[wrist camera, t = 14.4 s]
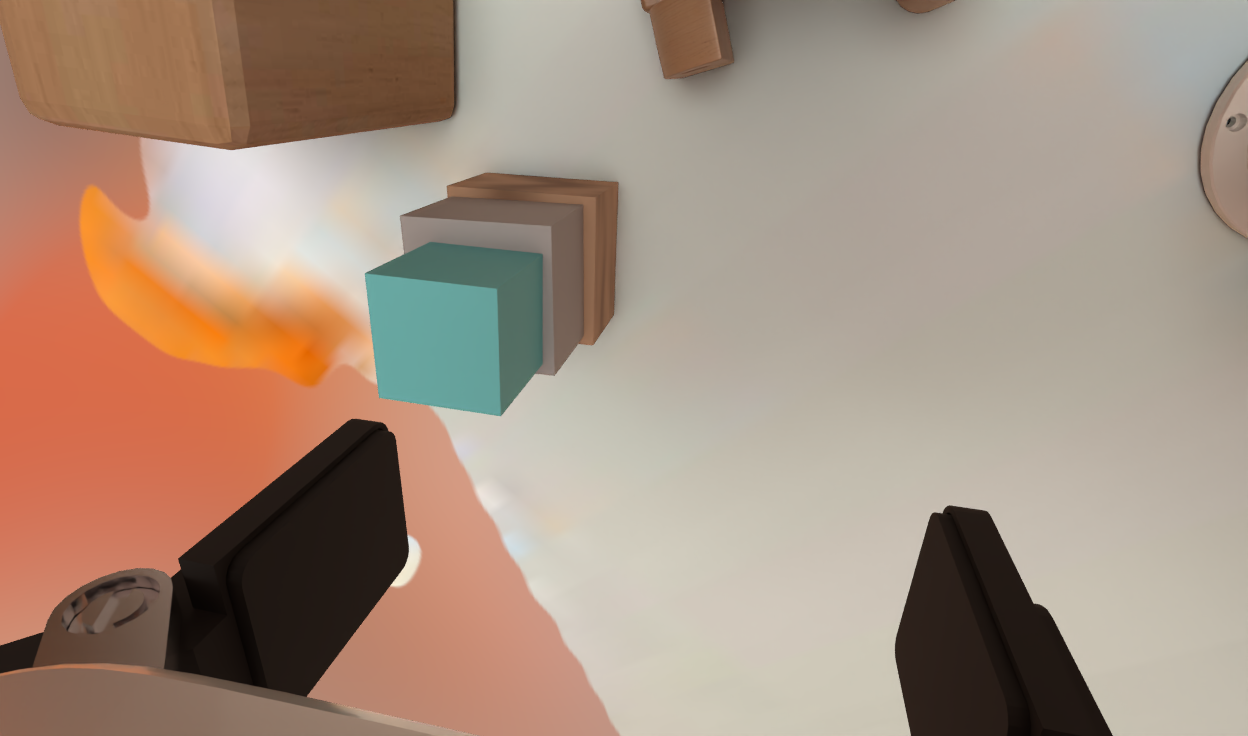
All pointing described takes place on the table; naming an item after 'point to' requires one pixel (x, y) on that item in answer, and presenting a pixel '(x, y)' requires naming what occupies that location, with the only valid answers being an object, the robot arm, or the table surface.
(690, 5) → the wooden toy
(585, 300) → the tower base
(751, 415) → the table surface
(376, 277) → the teal cube
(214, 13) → the wooden block
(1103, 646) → the table surface
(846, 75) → the table surface
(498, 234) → the tower mid
